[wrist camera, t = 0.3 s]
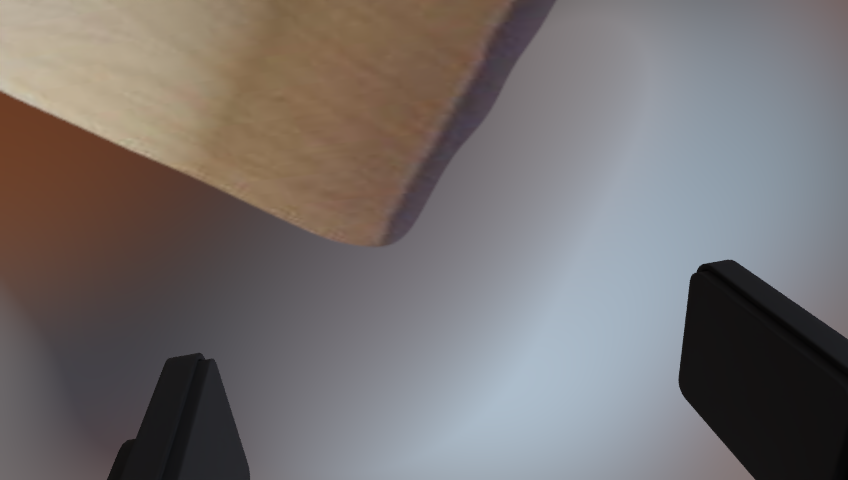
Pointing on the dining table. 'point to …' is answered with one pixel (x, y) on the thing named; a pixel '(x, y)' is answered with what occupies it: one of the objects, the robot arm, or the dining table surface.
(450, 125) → the dining table surface
